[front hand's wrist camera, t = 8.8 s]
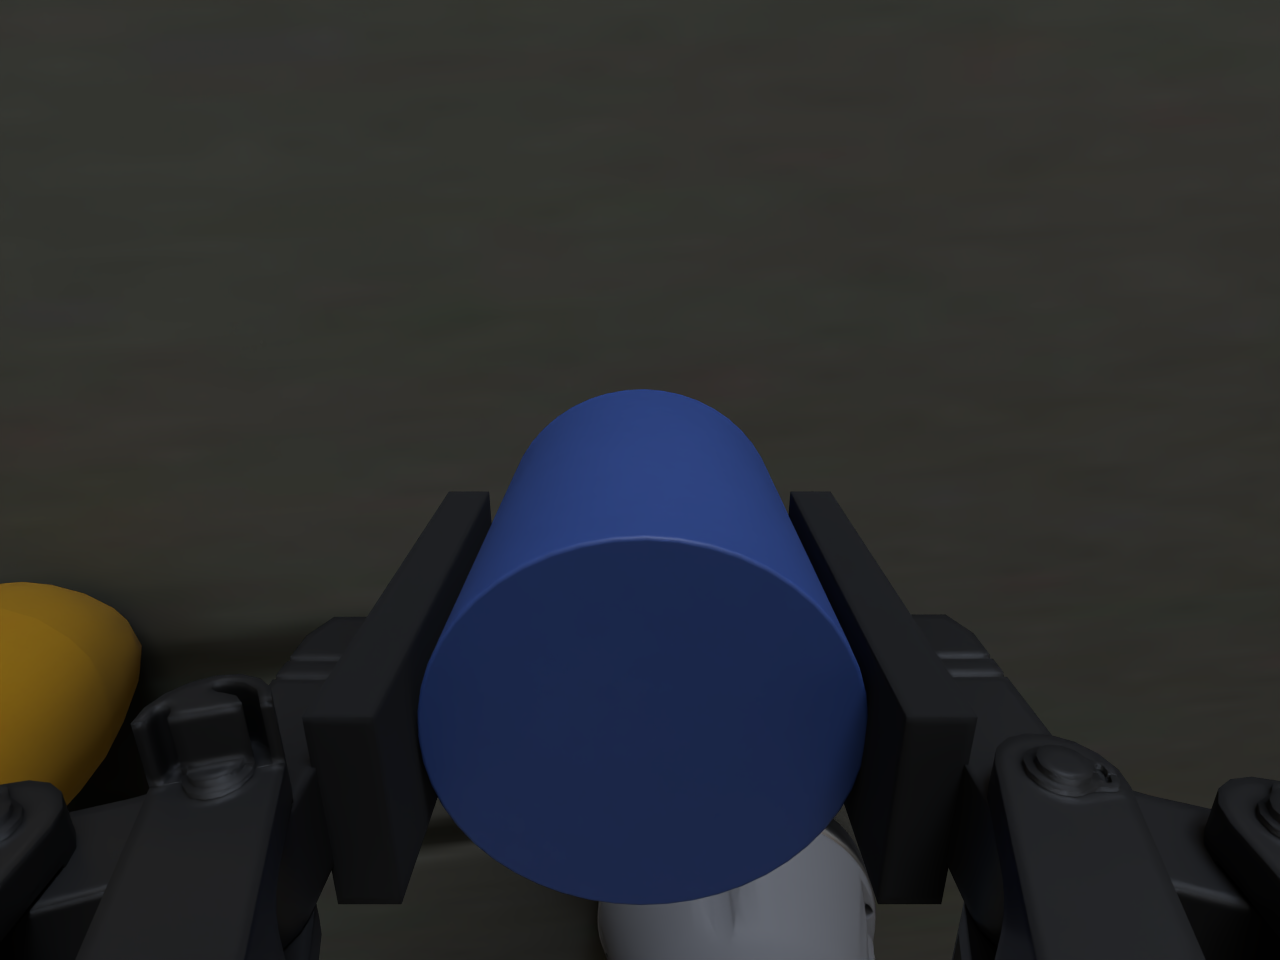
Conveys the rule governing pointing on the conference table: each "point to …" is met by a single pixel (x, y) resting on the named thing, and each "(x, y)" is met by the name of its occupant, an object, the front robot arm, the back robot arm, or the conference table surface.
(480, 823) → the canister
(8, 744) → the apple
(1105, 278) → the conference table surface
